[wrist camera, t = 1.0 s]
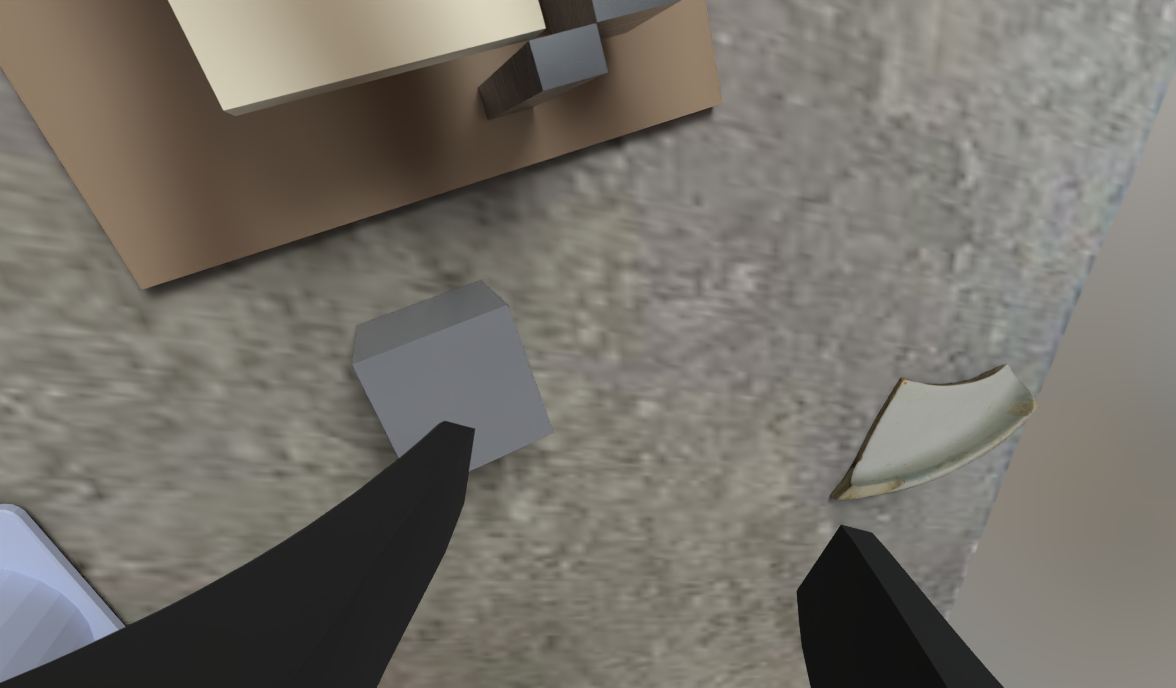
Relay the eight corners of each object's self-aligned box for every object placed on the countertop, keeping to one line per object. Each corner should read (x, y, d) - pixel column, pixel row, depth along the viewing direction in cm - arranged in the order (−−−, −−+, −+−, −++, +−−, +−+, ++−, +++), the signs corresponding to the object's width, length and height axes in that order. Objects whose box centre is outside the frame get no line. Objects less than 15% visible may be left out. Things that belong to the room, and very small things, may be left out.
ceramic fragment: (824, 497, 30) (884, 537, 27) (811, 421, 28) (874, 455, 25) (997, 388, 33) (1069, 412, 30) (996, 314, 31) (1074, 331, 28)
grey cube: (408, 432, 20) (417, 495, 16) (357, 324, 18) (351, 364, 14) (519, 385, 21) (553, 432, 17) (480, 279, 19) (507, 304, 15)
